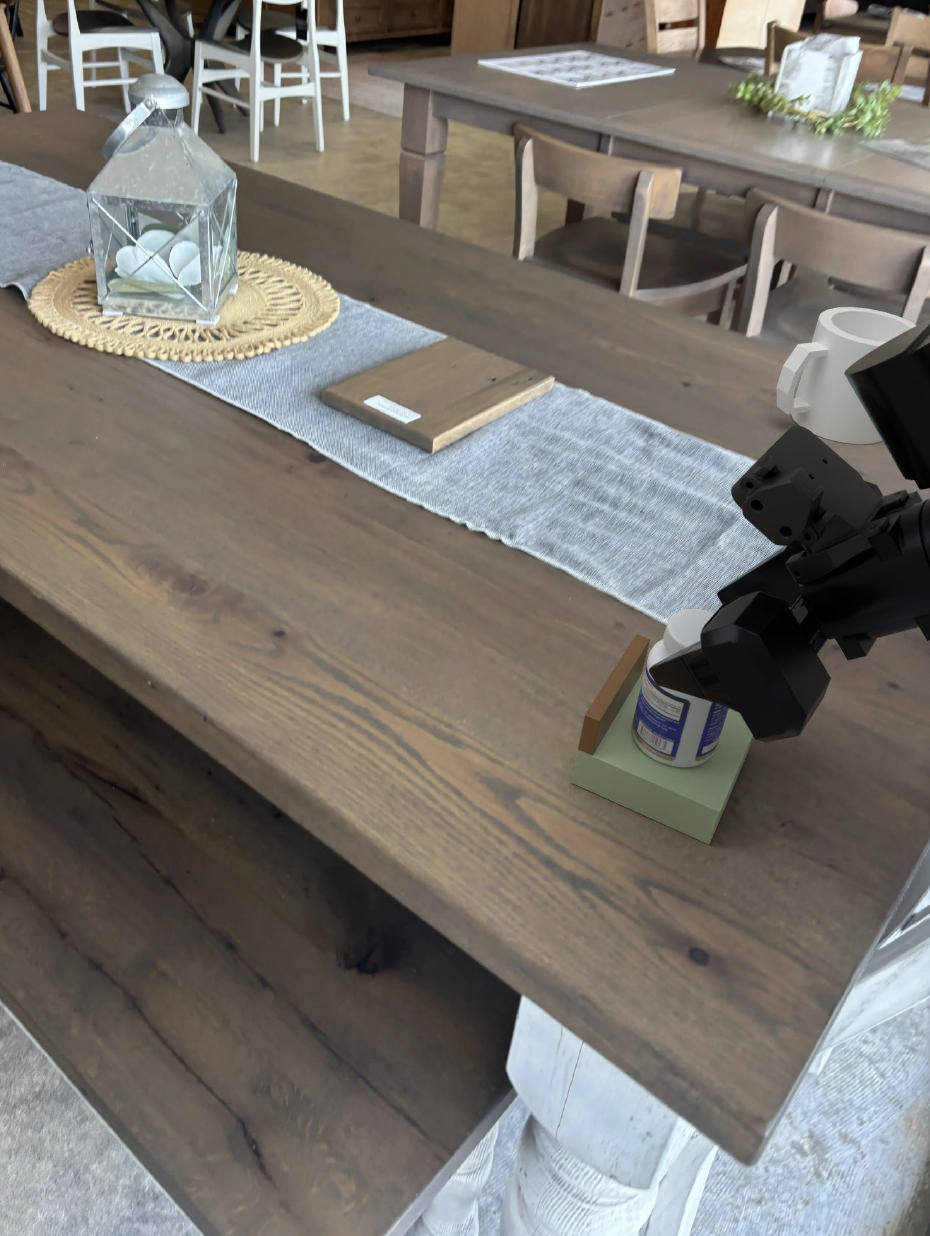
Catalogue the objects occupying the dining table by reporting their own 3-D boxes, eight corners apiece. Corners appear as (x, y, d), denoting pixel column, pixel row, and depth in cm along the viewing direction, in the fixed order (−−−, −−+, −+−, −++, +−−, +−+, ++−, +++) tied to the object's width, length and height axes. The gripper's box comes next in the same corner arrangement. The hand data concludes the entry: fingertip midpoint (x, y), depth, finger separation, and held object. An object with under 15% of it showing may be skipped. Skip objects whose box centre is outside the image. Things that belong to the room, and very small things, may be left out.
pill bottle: (700, 708, 65) (733, 601, 60) (726, 769, 61) (764, 659, 55) (621, 709, 64) (646, 601, 59) (641, 770, 60) (671, 660, 55)
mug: (804, 453, 100) (835, 355, 94) (745, 408, 108) (770, 314, 102) (911, 437, 104) (948, 342, 98) (847, 394, 112) (877, 303, 106)
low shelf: (748, 751, 66) (772, 684, 63) (709, 845, 60) (732, 776, 56) (620, 699, 70) (636, 633, 66) (570, 782, 63) (584, 714, 60)
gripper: (923, 348, 52) (687, 459, 64) (797, 485, 40) (533, 592, 52) (1024, 527, 53) (774, 605, 65) (931, 717, 41) (642, 771, 53)
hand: (688, 635), depth 59 cm, fingers open, 9 cm apart
